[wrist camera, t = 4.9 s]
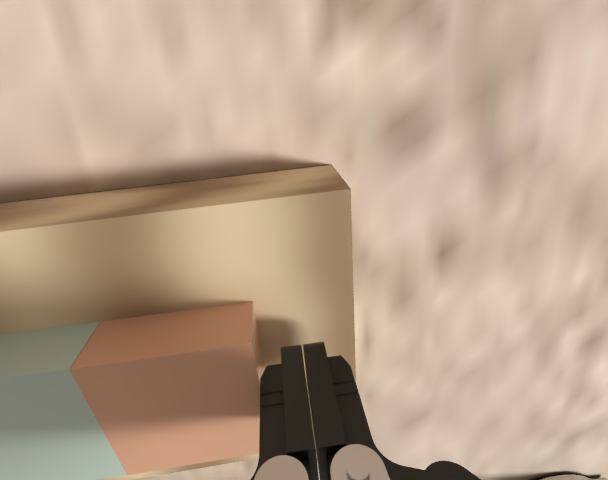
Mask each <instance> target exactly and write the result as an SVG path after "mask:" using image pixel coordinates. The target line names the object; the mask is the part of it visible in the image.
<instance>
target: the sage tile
mask: <svg viewBox="0 0 608 480" xmlns="http://www.w3.org/2000/svg"><path fill="white" fill-rule="evenodd" d="M99 323H100V321H98V322H91V323H84V324H77V325H69V326H62V327H55V328H48V329H40V330H33V331H26V332H19V333H11V334H4V335H0V480H98V479H104V478H110V477H116V476H122V475H127V474H126V472H125V470H124V469H123V467H122V465H121V463H120V461H119V459H118V458H117V456H116V454H115V452H114V450H113V449H112V447H111V445H110V443H109V441H108V439H107V438H106V436H105V434H104V432H103V430H102V428H101V427H100V425H99V423H98V421H97V419H96V418H95V416H94V414H93V412H92V410H91V408H90V407H89V405H88V403H87V401H86V399H85V398H84V396H83V394H82V392H81V390H80V388H79V387H78V385H77V383H76V381H75V379H74V377H73V376H72V374H71V372H70V370H69V369H70V368H71V366H72V365H73V363H74V362H75V360H76V359H77V357H78V356H79V354H80V352H81V351H82V349H83V348H84V346H85V345H86V343H87V342H88V340H89V339H90V337H91V335H92V334H93V332H94V331H95V329H96V328H97V326H98V325H99Z"/></svg>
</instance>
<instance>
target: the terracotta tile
mask: <svg viewBox="0 0 608 480" xmlns="http://www.w3.org/2000/svg"><path fill="white" fill-rule="evenodd" d="M69 370H70V372H71V374H72V376H73V377H74V379H75V381H76V383H77V385H78V387H79V388H80V390H81V392H82V394H83V396H84V398H85V399H86V401H87V403H88V405H89V407H90V408H91V410H92V412H93V414H94V416H95V418H96V419H97V421H98V423H99V425H100V427H101V428H102V430H103V432H104V434H105V436H106V438H107V439H108V441H109V443H110V445H111V447H112V449H113V450H114V452H115V454H116V456H117V458H118V459H119V461H120V463H121V465H122V467H123V469H124V470H125V472H126V474H127V475H132V474H138V473H144V472H150V471H156V470H162V469H168V468H174V467H180V466H186V465H192V464H198V463H204V462H210V461H216V460H222V459H228V458H234V457H240V456H246V455H252V454H258V453H259V435H260V379H261V376H262V374H263V372H264V370H265V362H264V357H263V351H262V346H261V341H260V335H259V330H258V325H257V319H256V314H255V309H254V303H253V301H249V302H242V303H235V304H227V305H220V306H213V307H205V308H198V309H191V310H184V311H176V312H169V313H162V314H154V315H147V316H140V317H133V318H125V319H118V320H111V321H104V322H100V323H99V325H98V326H97V328H96V329H95V331H94V332H93V334H92V335H91V337H90V339H89V340H88V342H87V343H86V345H85V346H84V348H83V349H82V351H81V352H80V354H79V356H78V357H77V359H76V360H75V362H74V363H73V365H72V366H71V368H70V369H69Z"/></svg>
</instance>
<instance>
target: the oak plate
mask: <svg viewBox="0 0 608 480" xmlns="http://www.w3.org/2000/svg"><path fill="white" fill-rule="evenodd" d="M249 301H253V303H254V309H255V314H256V319H257V325H258V330H259V335H260V341H261V346H262V351H263V357H264V362H265V368H266V366H268V365H275V364H281V347H287V346H295V345H301V346H302V353H303V360H304V350H303V344H309V343H316V342H324V344H325V349H326V353H327V357H332V356H339V355H341V356H342V357H343V358H344V359H345V360H346V361H347V363H348V364H349V365H350V366H351V369H352V372H353V376H354V379H355V383H356V371H355V334H354V298H353V261H352V224H351V189H350V188H349V186H348V185H347V184H346V182H345V181H344V180H343V179H342V177H341V176H340V175H339V173H338V172H337V171H336V170H335V168H334V167H333V166H332V165H325V166H316V167H308V168H299V169H291V170H282V171H273V172H265V173H256V174H248V175H239V176H231V177H222V178H214V179H205V180H197V181H188V182H180V183H171V184H162V185H154V186H145V187H137V188H128V189H120V190H111V191H103V192H94V193H86V194H77V195H68V196H60V197H51V198H43V199H34V200H26V201H17V202H9V203H0V335H4V334H11V333H19V332H26V331H33V330H40V329H48V328H55V327H62V326H69V325H77V324H84V323H91V322H98V321H100V322H104V321H111V320H118V319H125V318H133V317H140V316H147V315H154V314H162V313H169V312H176V311H184V310H191V309H198V308H205V307H213V306H220V305H227V304H235V303H242V302H249ZM304 368H305V360H304ZM305 375H306V370H305ZM306 382H307V379H306ZM307 390H308V387H307ZM308 397H309V395H308ZM309 404H310V402H309ZM310 411H311V410H310ZM311 419H312V417H311ZM312 426H313V424H312ZM313 433H314V431H313ZM314 441H315V438H314ZM315 448H316V446H315ZM256 458H259V453H258V454H252V455H246V456H240V457H234V458H228V459H222V460H216V461H210V462H204V463H198V464H192V465H186V466H180V467H174V468H168V469H162V470H156V471H150V472H144V473H138V474H132V475H122V476H116V477H110V478H104V479H98V480H133V479H138V478H144V477H150V476H156V475H162V474H168V473H174V472H180V471H185V470H191V469H197V468H203V467H209V466H215V465H221V464H227V463H232V462H238V461H244V460H250V459H256Z"/></svg>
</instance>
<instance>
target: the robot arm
mask: <svg viewBox="0 0 608 480" xmlns="http://www.w3.org/2000/svg"><path fill="white" fill-rule="evenodd" d="M303 350H304V360H305V368H304V360H303V353H302V346H301V345H295V346H287V347H281V364H275V365H268V366H266V368H265V370H264V372H263V374H262V376H261V379H260V435H259V462H258V466H257V469H256V472H255V473H254V475H253V477H252V478H251V480H319V478H318V468H317V460H318V467H319V475H320V480H481V479H479V478H478V477H476V476H475V475H474V474H472V473H471V472H469V471H468V470H467V469H465V468H464V467H462V466H460V465H458V464H456V463H453V462H449V461H438V462H435V463H432V464H431V465H429V466H428V467H427V468H426V470H421V469H416V468H411V467H406V466H401V465H398V464H396V463H393V462H391V461H390V460H388V459H387V458H386V457H384V456H383V455H382V454H381V453H380V452H379V450H378V449H377V448H376V446H375V444H374V442H373V439H372V436H371V433H370V430H369V426H368V423H367V419H366V416H365V413H364V409H363V406H362V403H361V399H360V396H359V393H358V389H357V386H356V383H355V379H354V376H353V372H352V369H351V366H350V365H349V364H348V363H347V361H346V360H345V359H344V358H343V357H342V356H341V355H339V356H332V357H327V353H326V349H325V344H324V342H316V343H309V344H303ZM305 370H306V375H305ZM306 379H307V382H306ZM307 387H308V390H307ZM308 395H309V397H308ZM309 402H310V404H309ZM310 410H311V411H310ZM311 417H312V419H311ZM312 424H313V426H312ZM313 431H314V433H313ZM314 438H315V441H314ZM315 446H316V448H315ZM316 453H317V458H316ZM541 480H607V479H606V478H599V479H591V478H588V477H585V476H581V475H573V474H572V475H558V476H553V477H548V478H544V479H541Z"/></svg>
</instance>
